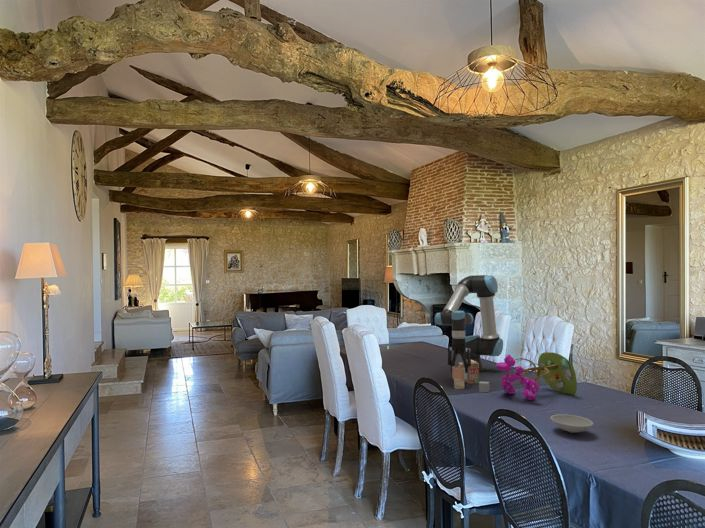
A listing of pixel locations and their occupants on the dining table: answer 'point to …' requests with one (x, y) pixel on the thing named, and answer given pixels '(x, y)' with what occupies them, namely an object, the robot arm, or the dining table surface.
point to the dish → (571, 422)
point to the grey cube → (484, 386)
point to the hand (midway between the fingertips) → (459, 378)
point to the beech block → (459, 384)
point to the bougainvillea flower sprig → (551, 369)
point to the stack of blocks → (471, 372)
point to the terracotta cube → (458, 373)
